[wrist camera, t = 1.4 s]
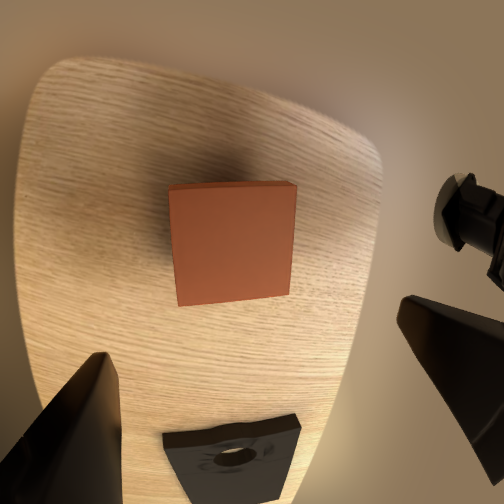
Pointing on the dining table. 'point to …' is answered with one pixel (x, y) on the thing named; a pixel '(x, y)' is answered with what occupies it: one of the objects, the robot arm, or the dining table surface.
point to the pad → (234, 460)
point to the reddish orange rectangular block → (231, 240)
